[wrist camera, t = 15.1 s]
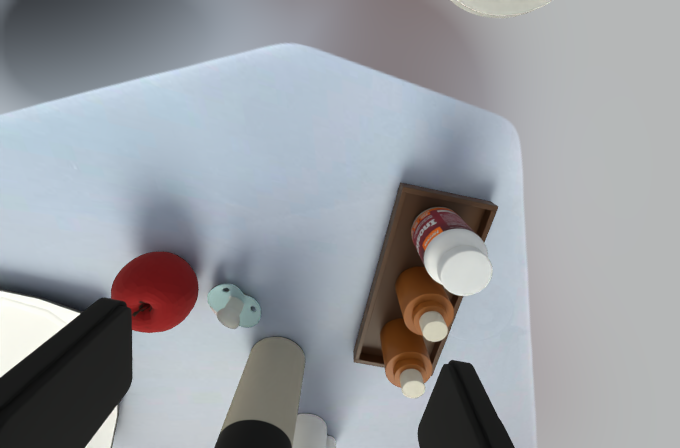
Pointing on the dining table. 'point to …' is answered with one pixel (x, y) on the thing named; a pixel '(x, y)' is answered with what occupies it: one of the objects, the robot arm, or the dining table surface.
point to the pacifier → (233, 307)
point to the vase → (311, 433)
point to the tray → (411, 264)
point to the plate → (39, 341)
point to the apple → (156, 290)
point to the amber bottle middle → (424, 304)
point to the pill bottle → (451, 251)
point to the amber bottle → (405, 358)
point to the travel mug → (266, 397)
